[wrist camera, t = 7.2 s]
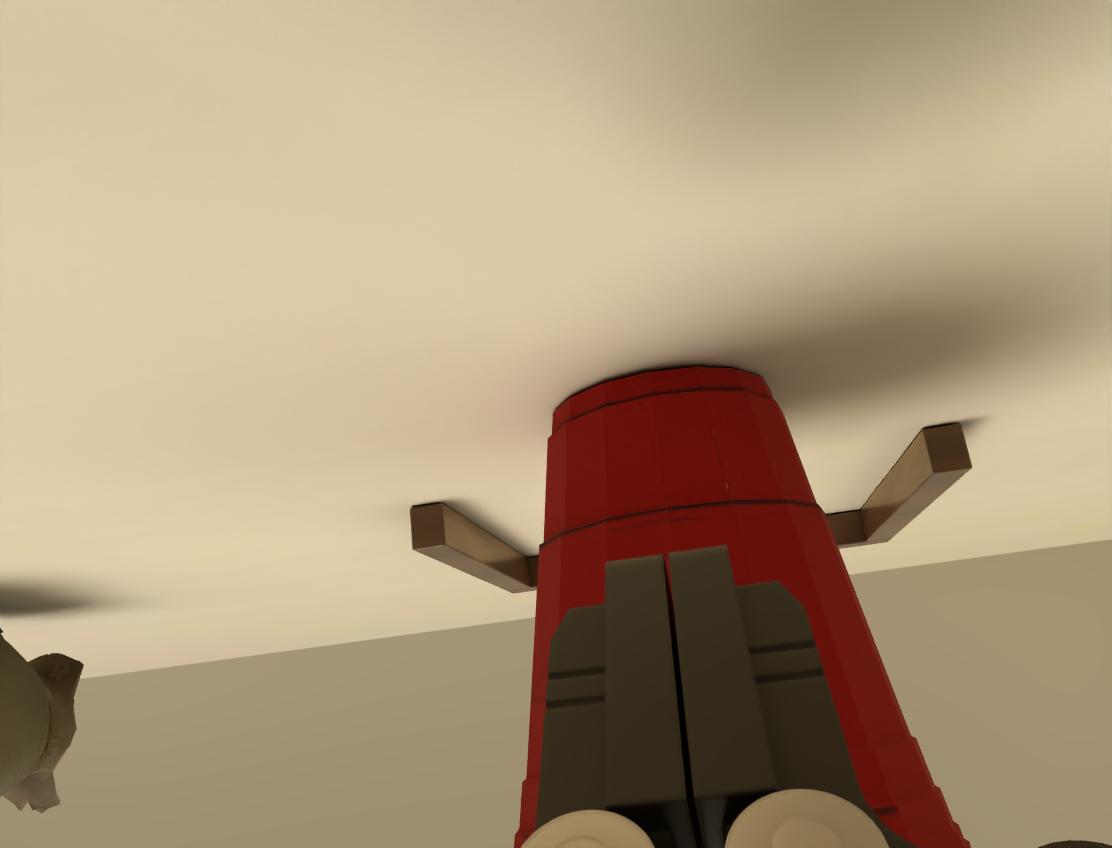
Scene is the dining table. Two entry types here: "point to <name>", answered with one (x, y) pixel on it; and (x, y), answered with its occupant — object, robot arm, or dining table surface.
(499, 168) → the dining table surface
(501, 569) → the frame
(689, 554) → the robot arm
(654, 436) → the plastic cup
